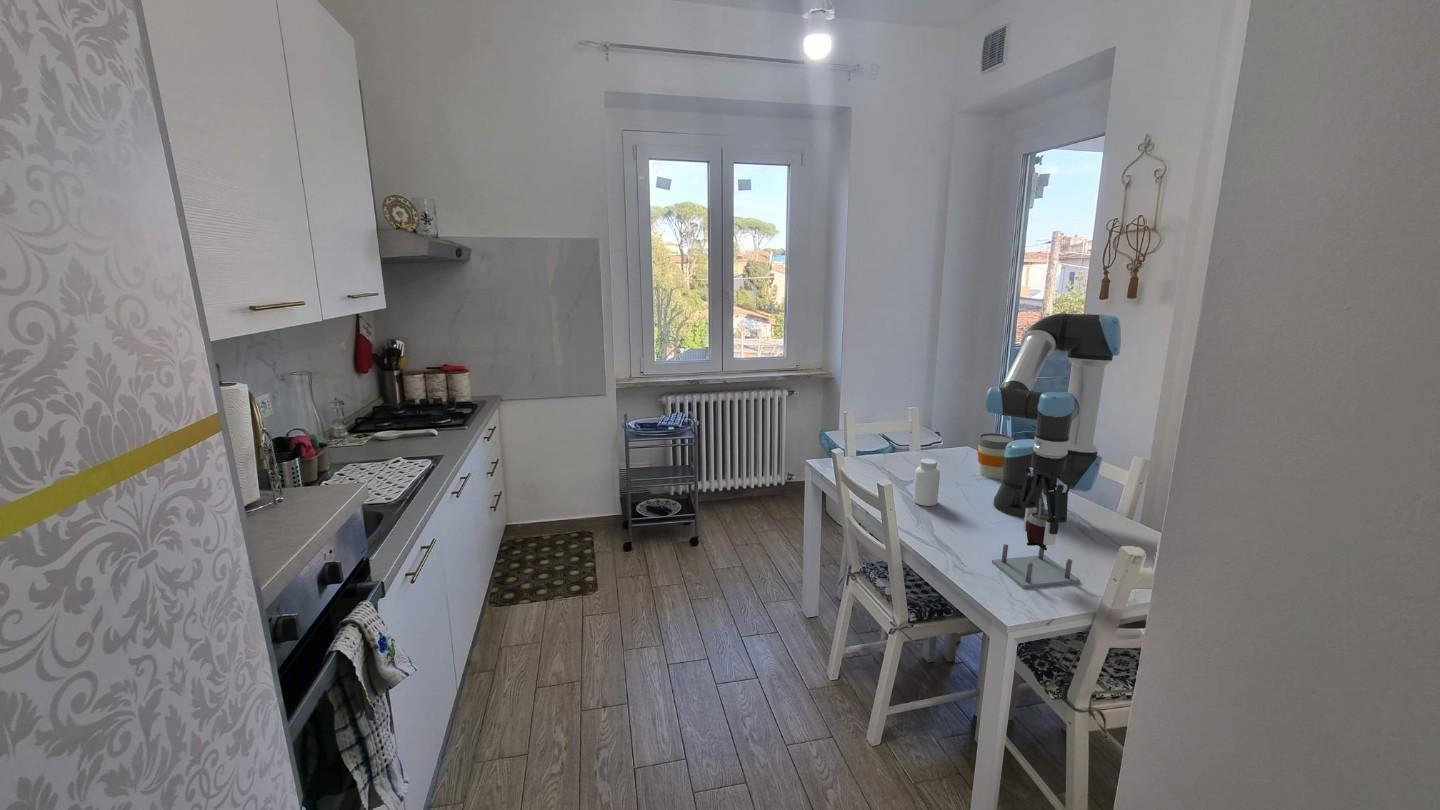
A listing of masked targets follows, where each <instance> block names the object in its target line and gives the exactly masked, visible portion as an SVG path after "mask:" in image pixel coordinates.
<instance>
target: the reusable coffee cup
mask: <svg viewBox="0 0 1440 810" xmlns="http://www.w3.org/2000/svg"><path fill="white" fill-rule="evenodd" d="M1012 441H1015V440H1014V438H1013V437H1012V436H1010V435H1006V434H1002V433H997V432H995V433H994V432H989V433H988V432H985V433H984V432H983V433H980V434H979V435H978V439H977V444H978V445H977V446H978V449H977V462H978V463H979V464H978V466H979V475H980V476H982V477H984V478H987V479H995V480H998V479H1001V480H1002V475H1003V465H1004V454H1005V450H1006V446H1007V444H1008V443H1010V442H1012Z"/></svg>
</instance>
